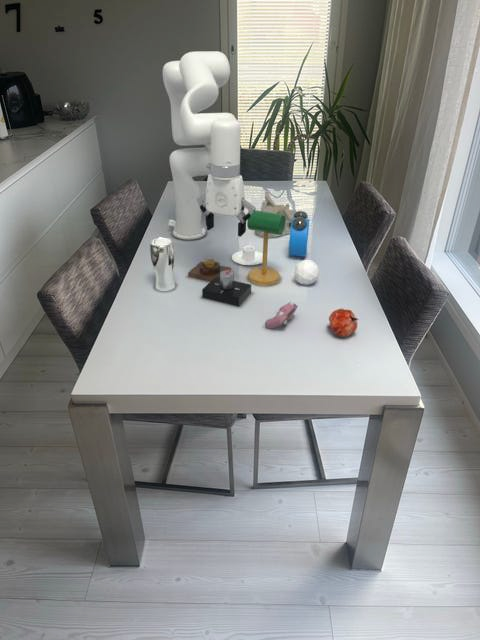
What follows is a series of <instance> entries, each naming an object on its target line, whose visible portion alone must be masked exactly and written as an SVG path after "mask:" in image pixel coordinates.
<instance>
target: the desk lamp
mask: <svg viewBox="0 0 480 640" xmlns="http://www.w3.org/2000/svg"><path fill="white" fill-rule="evenodd" d="M285 222H286V218H285V215H282V214H276V213H270V212H264V211H261V210H257V209H256V210H255V211H254V213H253V214H252V216H251V217H250V218H249V219H248V220H246V227H247V229H248V230H249V231H254V232H256V231H260V232H264V237H262V238H263V241H262V253H263V262H262V263H261V266H260V267H255V268H252V269H251V270H250V271H248V277H247V278H248V282H250V283H252V284H254V285H257V286H260V287H266V286H268V287H269V286H270V287H271V286H274V285H276V284H278V283H279V282H280V278H281V277H280V276H281V274H280V272H279V271H278V270H276V269H275V268H272V267H268V249H269V248H268V244H269V238H268V233H271V234H276V235H282V233H283V231H284V228H285ZM282 236H283V235H282Z"/></svg>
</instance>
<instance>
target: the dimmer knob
mask: <svg viewBox="0 0 480 640" xmlns="http://www.w3.org/2000/svg"><path fill="white" fill-rule="evenodd" d="M234 281H235V273H234V271H232V270H231V271H230V270H224V271H222V272H220V287H221V289H224V290H230V289H232V288H233V287H234Z"/></svg>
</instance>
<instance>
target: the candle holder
mask: <svg viewBox="0 0 480 640" xmlns="http://www.w3.org/2000/svg"><path fill="white" fill-rule="evenodd" d="M231 260H232V262H234V263H236V264H239V265H244V266H255V265H256V266H258V265H262V262H263V252H261V251H258V250H256V248H255V246H252V245H245V246H243V247H242V250H239V251H235V253H233V254H232V255H231Z"/></svg>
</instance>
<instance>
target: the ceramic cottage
mask: <svg viewBox="0 0 480 640" xmlns="http://www.w3.org/2000/svg"><path fill="white" fill-rule="evenodd" d="M260 211H264V212H270V213H276V214H282V215H285V218H286V222H285V228H284V231H283V233H282V235H276V234H271V233H268V239H269V238H270V239H271V238H278V237H283V236H284V235H285V236H286V235H287V234H290V230H291V222H292V218H295V217H294V214H295V213H296V212H297V210H296V209H290V203H288V202H287V203H286V204H285V205H284V204H283V203H282V204H275V202H274V200H273V199H272V197H271V196H270V193H269V190H265V191H264V200H263V201H262V204H261V207H260ZM255 235H257V236H258V237H260V238H264V232H260V231H255Z"/></svg>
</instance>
